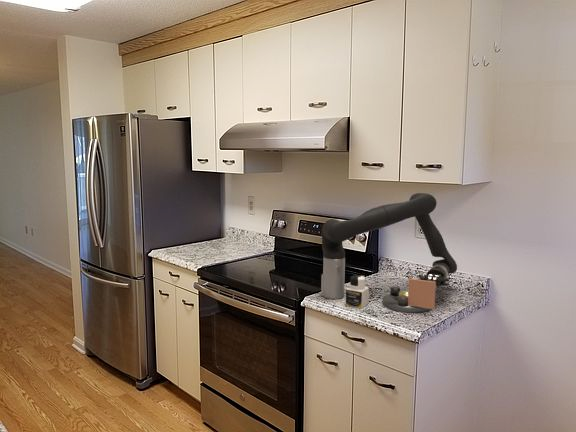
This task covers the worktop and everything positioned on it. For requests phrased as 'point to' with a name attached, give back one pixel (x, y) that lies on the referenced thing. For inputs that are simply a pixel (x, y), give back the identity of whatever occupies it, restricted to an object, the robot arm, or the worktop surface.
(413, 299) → the terracotta flat panel
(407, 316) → the worktop surface
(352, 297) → the medicine bottle
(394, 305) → the levelling base
